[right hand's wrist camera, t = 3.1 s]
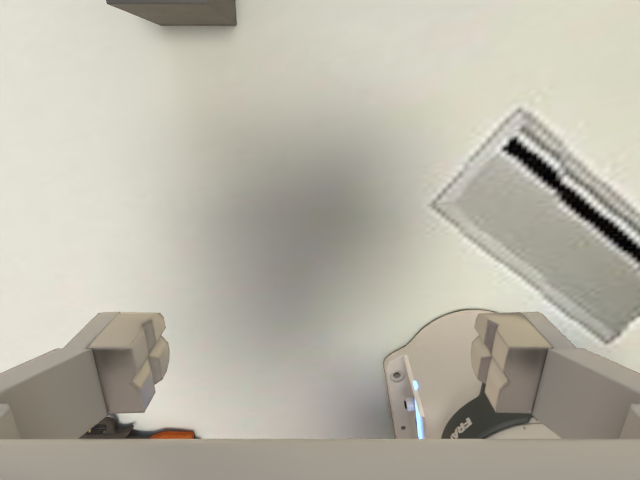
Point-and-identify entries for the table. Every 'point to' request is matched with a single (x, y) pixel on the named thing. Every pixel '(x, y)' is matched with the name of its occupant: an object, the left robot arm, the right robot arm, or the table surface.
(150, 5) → the box
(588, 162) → the table surface
